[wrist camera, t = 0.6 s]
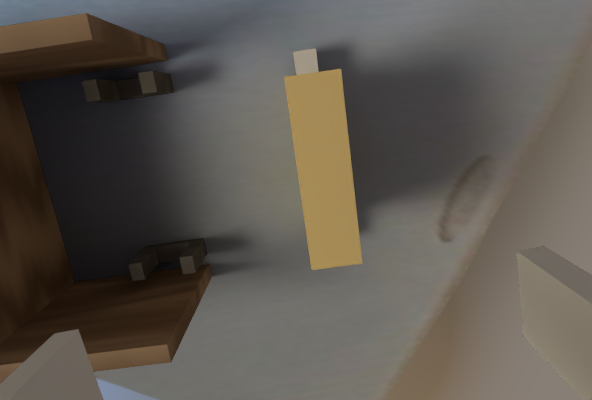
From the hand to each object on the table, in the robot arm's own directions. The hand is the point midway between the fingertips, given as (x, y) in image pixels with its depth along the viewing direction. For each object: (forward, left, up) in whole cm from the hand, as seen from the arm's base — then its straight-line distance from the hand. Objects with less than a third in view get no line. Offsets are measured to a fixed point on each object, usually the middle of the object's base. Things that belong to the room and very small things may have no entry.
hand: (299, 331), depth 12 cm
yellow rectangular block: (0, +3, -23) cm, 23 cm away
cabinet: (-12, -10, -23) cm, 27 cm away
